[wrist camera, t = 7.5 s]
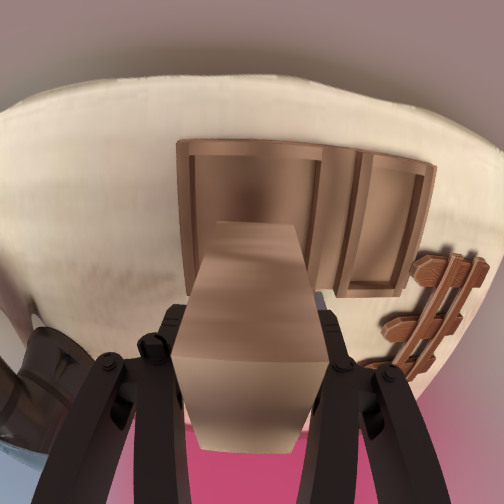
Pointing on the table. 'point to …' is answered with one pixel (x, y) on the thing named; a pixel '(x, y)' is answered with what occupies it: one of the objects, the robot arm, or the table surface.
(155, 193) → the table surface
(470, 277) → the decorative fence
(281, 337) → the wooden block
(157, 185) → the table surface
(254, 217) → the tray
